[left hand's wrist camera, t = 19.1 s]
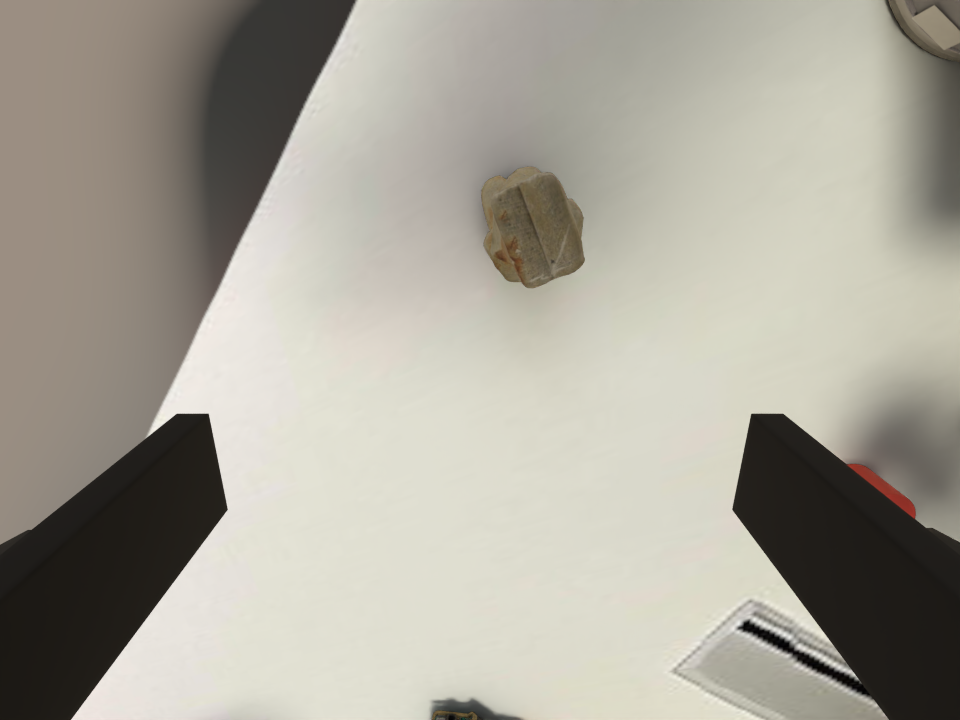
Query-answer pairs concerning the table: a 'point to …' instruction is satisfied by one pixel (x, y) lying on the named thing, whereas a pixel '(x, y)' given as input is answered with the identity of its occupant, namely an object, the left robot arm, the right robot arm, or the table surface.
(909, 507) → the canister
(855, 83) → the table surface
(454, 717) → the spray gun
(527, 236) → the sculpture
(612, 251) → the table surface
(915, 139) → the table surface
